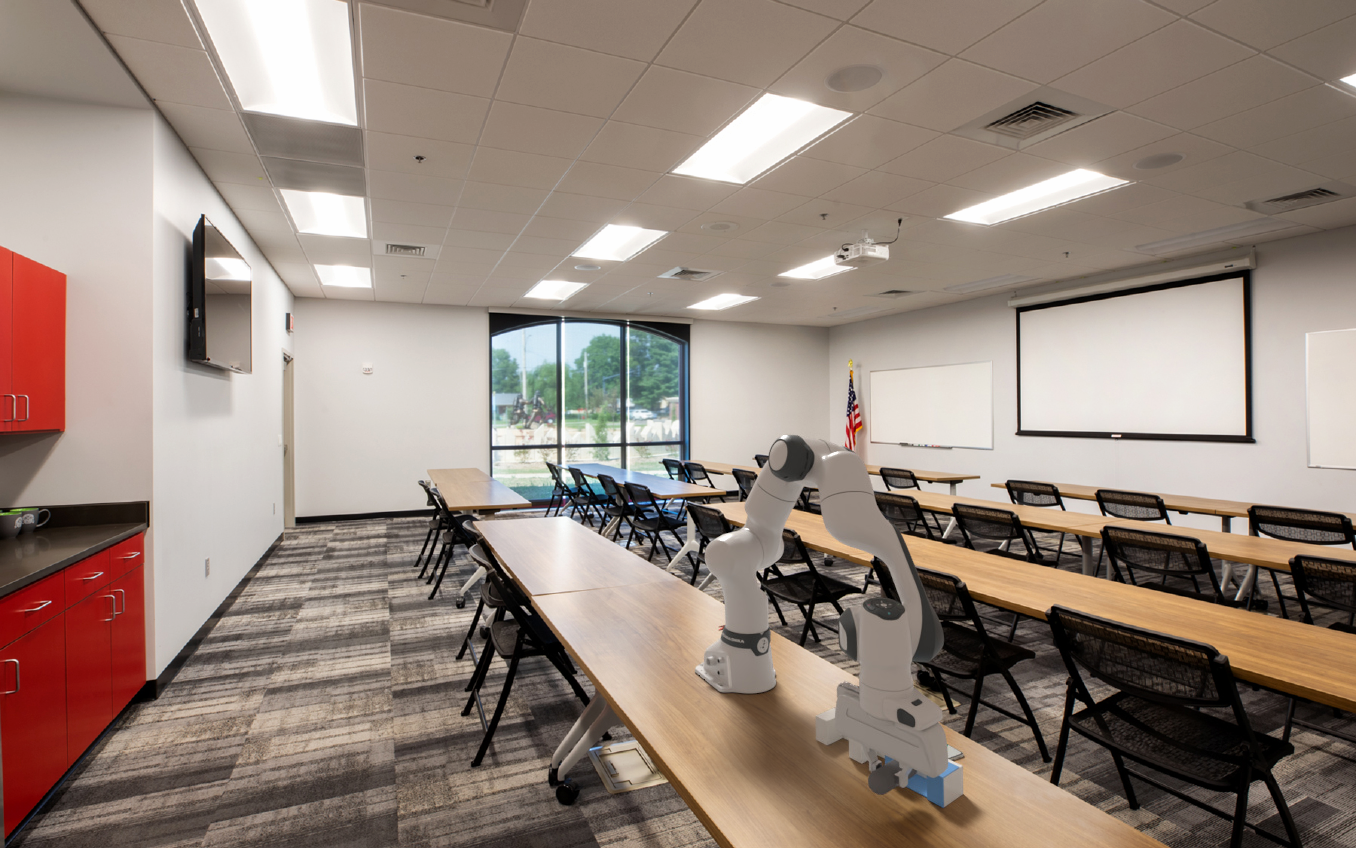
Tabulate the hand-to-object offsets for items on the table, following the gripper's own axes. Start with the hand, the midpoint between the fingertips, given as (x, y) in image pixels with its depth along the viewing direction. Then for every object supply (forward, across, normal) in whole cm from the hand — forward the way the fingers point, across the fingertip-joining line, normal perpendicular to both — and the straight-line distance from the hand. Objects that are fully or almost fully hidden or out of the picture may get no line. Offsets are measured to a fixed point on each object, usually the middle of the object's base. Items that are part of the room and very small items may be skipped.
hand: (888, 778), depth 105 cm
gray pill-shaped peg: (+2, 0, +1) cm, 2 cm away
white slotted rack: (+5, -9, +11) cm, 15 cm away
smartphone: (+6, -9, +24) cm, 26 cm away
